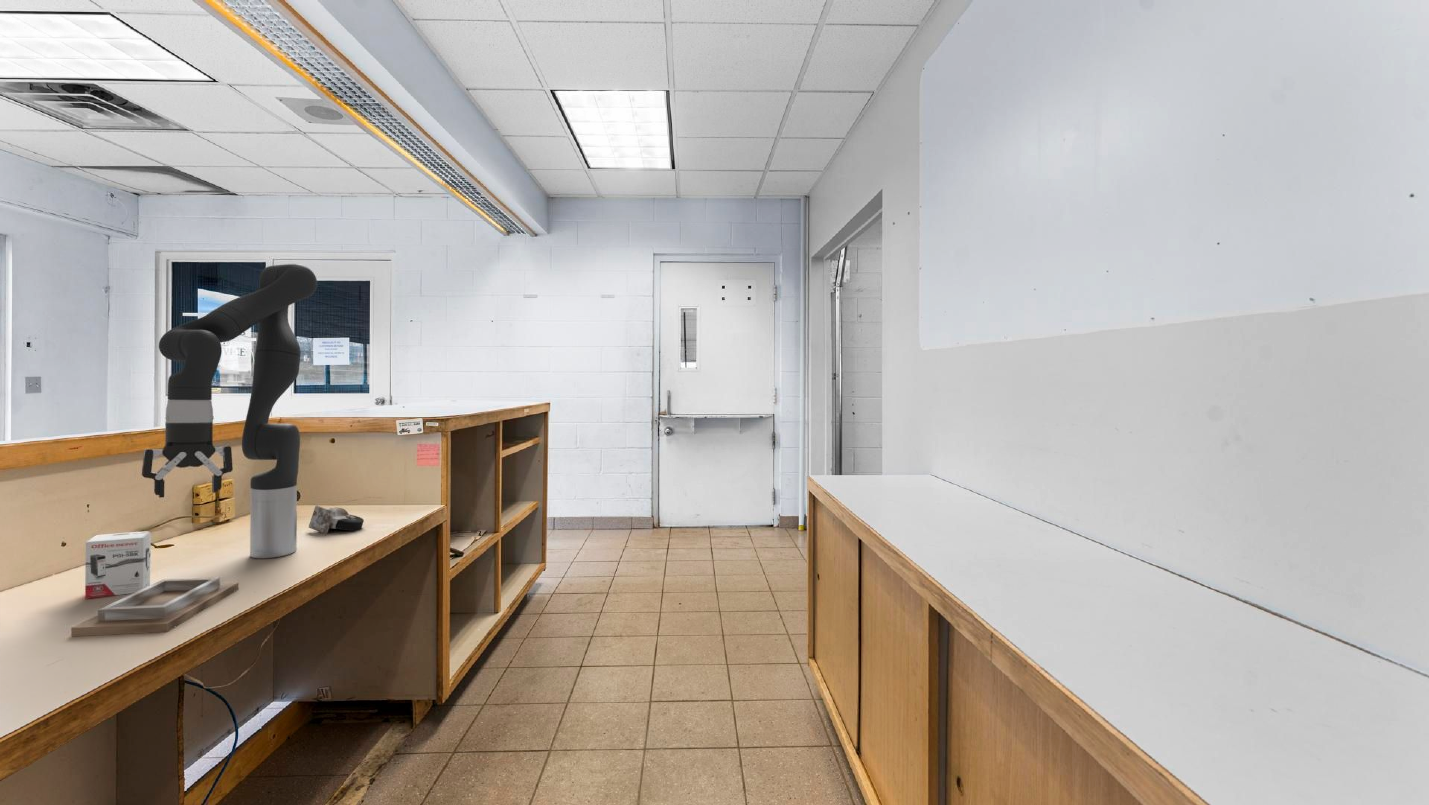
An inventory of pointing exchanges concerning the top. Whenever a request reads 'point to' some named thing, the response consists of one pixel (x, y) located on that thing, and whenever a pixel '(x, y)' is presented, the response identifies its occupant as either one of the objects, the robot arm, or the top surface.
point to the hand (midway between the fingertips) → (188, 494)
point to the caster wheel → (334, 520)
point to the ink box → (117, 564)
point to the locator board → (156, 607)
